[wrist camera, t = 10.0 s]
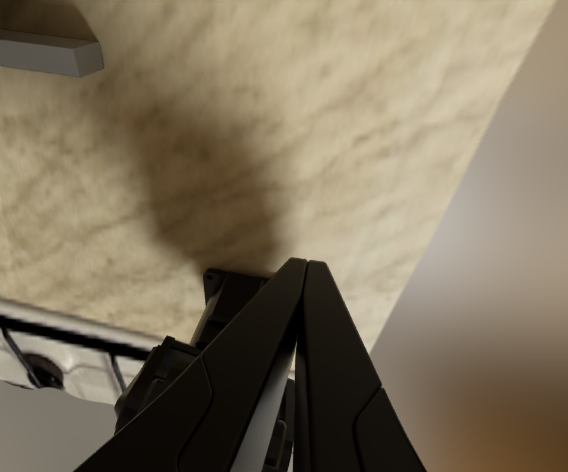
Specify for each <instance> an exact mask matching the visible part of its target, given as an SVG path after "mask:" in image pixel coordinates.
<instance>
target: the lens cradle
mask: <svg viewBox="0 0 568 472" xmlns="http://www.w3.org/2000/svg"><path fill="white" fill-rule="evenodd" d="M0 66H2V67H9V68H16V69H23V70H31V71H38V72H45V73H53V74H60V75H67V76H74V77H82V76H85V75H88V74H90V73H93V72H95V71H98V70H101V69H103V68H104V64H103V59H102V55H101V51H100V46H99V42H95V41H87V40H79V39H71V38H64V37H56V36H48V35H40V34H32V33H25V32H17V31H9V30H1V29H0Z"/></svg>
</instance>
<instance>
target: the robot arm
mask: <svg viewBox="0 0 568 472" xmlns="http://www.w3.org/2000/svg"><path fill="white" fill-rule="evenodd" d="M210 275H211V276H210ZM203 280H204V292H205V303H206V308H205V310H204V312H203V314H202V317H201V319H200V321H199V323H198V326H197V328H196V330H195V332H194V335H193V337H192V339H191V341H190V343H189V344H186V343H183V342H180V341H177V340H175V338H173V337H170V336H168V335H167V336H166V338H165V340H164V341H163V343H162V344H161V345H158V346H157V347H153V349H152V350H151V352H150V354H149V356H148V358H147V360H146V362H145V363H144V365H143V367H142V368H141V370H140V371H139V373H138V374H137V376H136V377H135V378H134V379H133V381H132V382H131V383H130V384H129V386H128V387H127V388H126V390H125V391H124V392H123V393H122V395H121V396H120V397H119V399H118V400H117V402H116V404H115V407H114V410H115V413H116V416H117V423H116V426H115V429H116V431H115V433H114V436H113V437H112V438H111V439H110V440H108V441H107V442H106V443H105V444H104V445H103V446H102V447H100V448H99V449H98V450H97V451H96V452H95V453H93V454H92V455H91V456H90V457H89V458H88V459H87V460H85V461H84V462H83V463H82V464H81V465H80V466H79V467H77V468H76V469H75V470H74V471H73V472H287V471H288V467H289V463H290V458H291V454H292V447H293V472H427V470H426V469H425V467H424V466H423V463H422V462H421V460H420V458H419V456H418V454H417V453H416V451H415V449H414V447H413V446H412V444H411V442H410V440H409V438H408V437H407V435H406V433H405V431H404V429H403V427H402V425H401V423H400V421H399V419H398V417H397V415H396V413H395V411H394V409H393V407H392V404H391V402H390V400H389V398H388V396H387V393H386V391H385V389H384V388H381V387H382V383H381V381H380V379H379V376H378V374H377V372H376V370H375V368H374V366H373V363H372V361H371V359H370V357H369V355H368V352H367V350H366V348H365V346H364V344H363V342H362V339H361V337H360V335H359V333H358V331H357V329H356V326H355V324H354V322H353V320H352V318H351V316H350V313H349V311H348V309H347V307H346V305H345V302H344V300H343V298H342V296H341V294H340V292H339V289H338V287H337V285H336V283H335V281H334V279H333V276H332V274H331V272H330V270H329V268H328V266H327V264H326V263H325V262H322V261H315V260H310V261H307V260H306V259H301V258H294V257H291V258H290V259H289V260H288V261H287V262H286V263H285V264H284V265H283V266H282V267H281V268H280V269H279V270H278V271H277V272H276V273H275V274H274V276H273V277H272V278H271V279H265V278H260V277H254V276H248V275H243V274H237V273H232V272H226V271H220V270H215V269H207V270H206V271H205V272H204V274H203ZM297 336H298V337H297ZM296 342H297V345H296ZM295 348H296V356H295V395H294V380H292V379H289V378H288V375H289V371H290V368H291V364H292V361H293V357H294V353H295ZM293 438H294V441H293Z"/></svg>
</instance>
